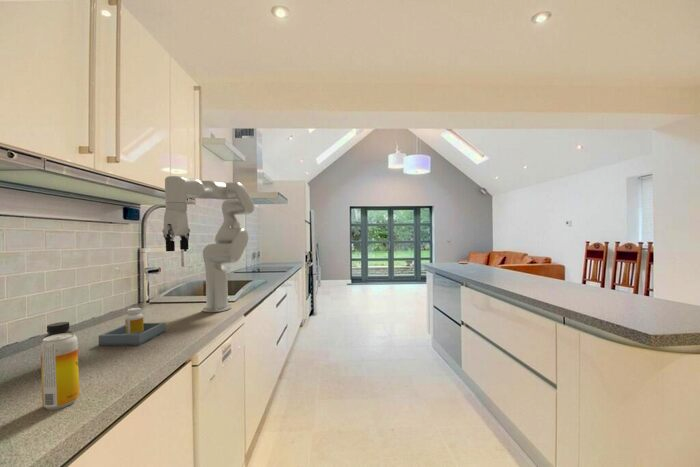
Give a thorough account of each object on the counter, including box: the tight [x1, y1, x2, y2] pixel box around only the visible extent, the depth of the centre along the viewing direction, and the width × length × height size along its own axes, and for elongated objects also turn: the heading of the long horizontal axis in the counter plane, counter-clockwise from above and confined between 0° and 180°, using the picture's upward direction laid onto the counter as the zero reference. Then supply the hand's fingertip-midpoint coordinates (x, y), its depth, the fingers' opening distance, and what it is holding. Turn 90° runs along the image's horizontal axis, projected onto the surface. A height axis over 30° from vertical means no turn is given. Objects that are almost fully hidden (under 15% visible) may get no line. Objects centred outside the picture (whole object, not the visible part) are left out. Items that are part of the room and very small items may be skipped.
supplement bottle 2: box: [124, 307, 144, 334], centre depth 114 cm, size 5×5×10 cm
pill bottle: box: [39, 332, 80, 411], centre depth 71 cm, size 6×6×15 cm
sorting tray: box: [98, 322, 166, 347], centre depth 113 cm, size 14×14×4 cm
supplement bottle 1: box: [41, 321, 74, 342], centre depth 92 cm, size 7×7×12 cm
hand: (177, 250), depth 128 cm, fingers open, 9 cm apart
